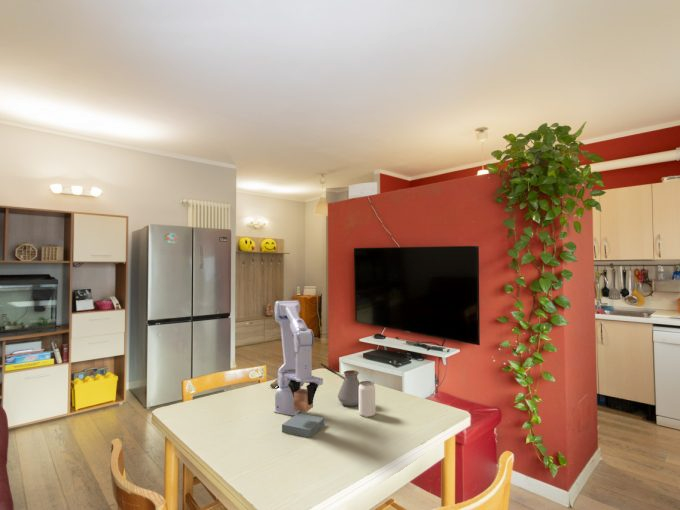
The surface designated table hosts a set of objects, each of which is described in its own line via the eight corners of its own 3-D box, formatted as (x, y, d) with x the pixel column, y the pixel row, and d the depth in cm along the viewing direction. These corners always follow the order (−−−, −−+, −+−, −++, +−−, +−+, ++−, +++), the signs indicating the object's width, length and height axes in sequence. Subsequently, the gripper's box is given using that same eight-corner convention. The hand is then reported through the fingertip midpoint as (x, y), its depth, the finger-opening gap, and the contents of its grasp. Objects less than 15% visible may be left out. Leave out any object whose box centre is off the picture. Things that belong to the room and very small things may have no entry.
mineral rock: (281, 376, 186) (291, 375, 180) (283, 385, 185) (293, 384, 180) (264, 382, 177) (274, 381, 172) (266, 391, 177) (276, 390, 172)
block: (293, 409, 129) (293, 392, 129) (300, 405, 134) (300, 388, 134) (306, 412, 127) (306, 394, 127) (313, 407, 132) (313, 390, 132)
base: (281, 431, 127) (281, 424, 127) (297, 419, 137) (297, 413, 137) (309, 437, 123) (309, 430, 123) (324, 424, 133) (324, 417, 133)
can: (374, 418, 139) (374, 386, 139) (357, 416, 140) (357, 384, 141) (376, 411, 145) (375, 380, 146) (360, 410, 146) (359, 380, 147)
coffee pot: (369, 400, 157) (368, 365, 158) (358, 409, 147) (357, 372, 148) (325, 393, 167) (325, 360, 167) (312, 401, 157) (312, 366, 157)
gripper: (280, 364, 130) (280, 403, 130) (316, 369, 124) (316, 409, 124) (290, 360, 137) (290, 397, 136) (325, 364, 131) (325, 402, 130)
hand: (303, 402), depth 130 cm, fingers closed on block, 5 cm apart
